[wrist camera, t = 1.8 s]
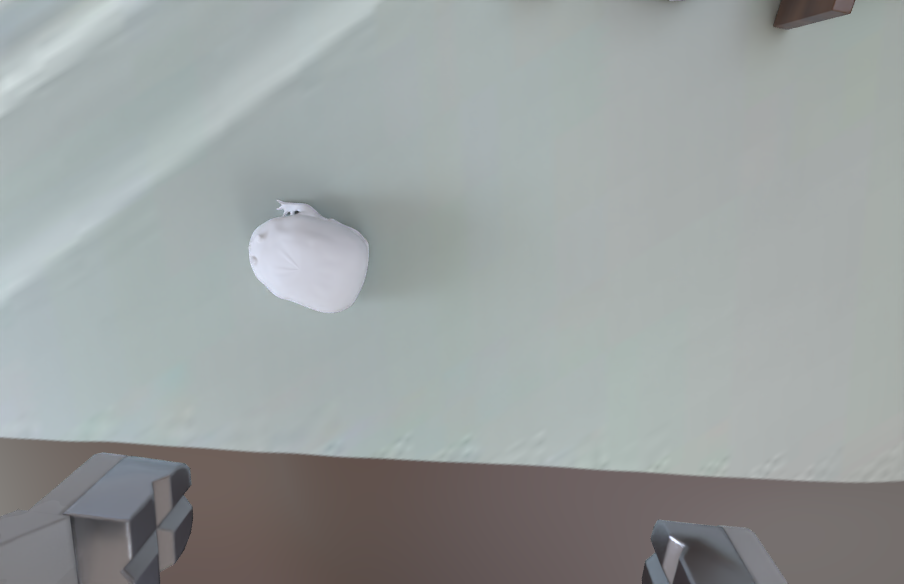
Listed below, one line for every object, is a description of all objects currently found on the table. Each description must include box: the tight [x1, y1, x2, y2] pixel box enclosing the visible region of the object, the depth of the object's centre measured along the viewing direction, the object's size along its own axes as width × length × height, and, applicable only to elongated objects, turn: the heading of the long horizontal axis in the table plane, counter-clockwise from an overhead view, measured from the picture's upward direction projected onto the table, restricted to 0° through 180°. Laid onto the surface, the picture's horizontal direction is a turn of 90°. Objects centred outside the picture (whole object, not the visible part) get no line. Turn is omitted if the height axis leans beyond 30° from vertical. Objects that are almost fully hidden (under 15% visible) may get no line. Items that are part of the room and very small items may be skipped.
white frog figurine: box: [249, 199, 369, 313], centre depth 38 cm, size 8×7×4 cm
